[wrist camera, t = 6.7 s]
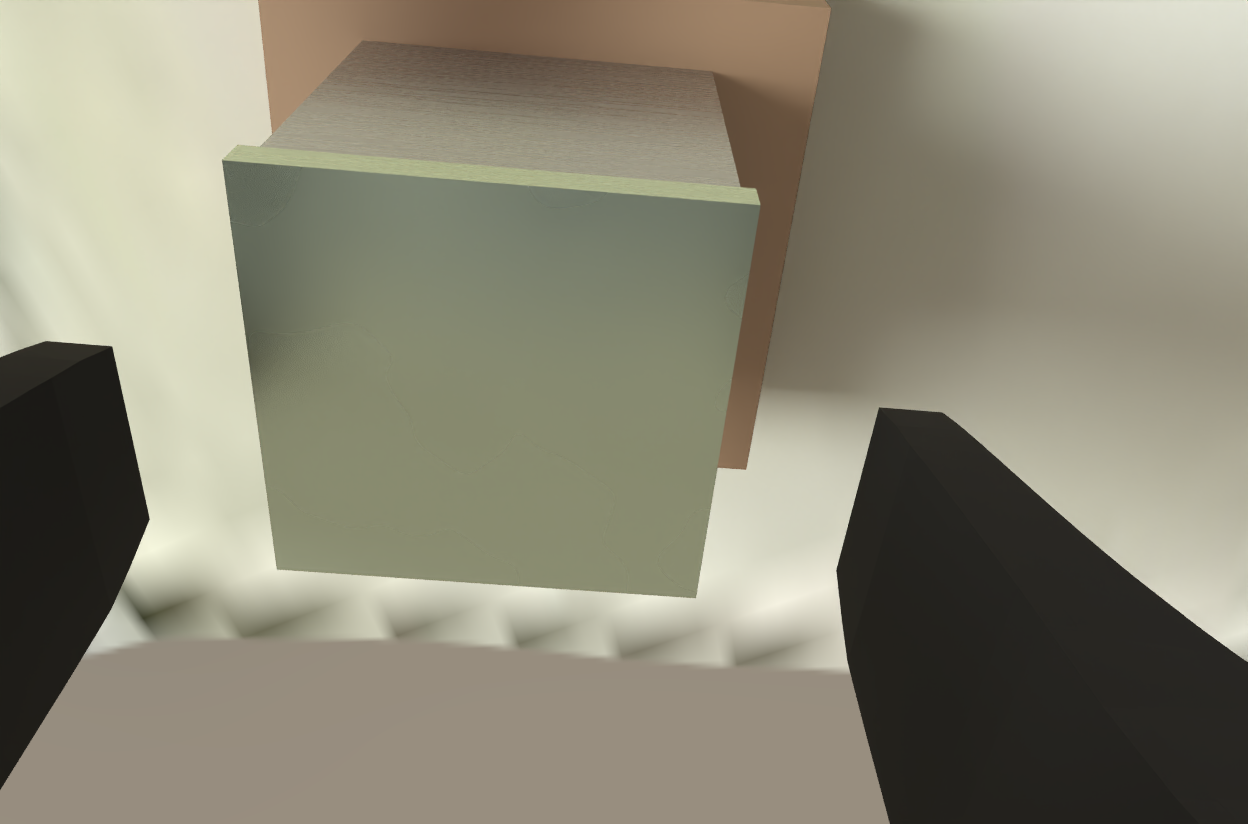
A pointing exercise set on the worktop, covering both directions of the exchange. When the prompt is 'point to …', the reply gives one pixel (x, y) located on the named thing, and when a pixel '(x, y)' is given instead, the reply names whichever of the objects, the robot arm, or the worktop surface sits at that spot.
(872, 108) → the worktop surface
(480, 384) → the tea tin
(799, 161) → the walnut block
